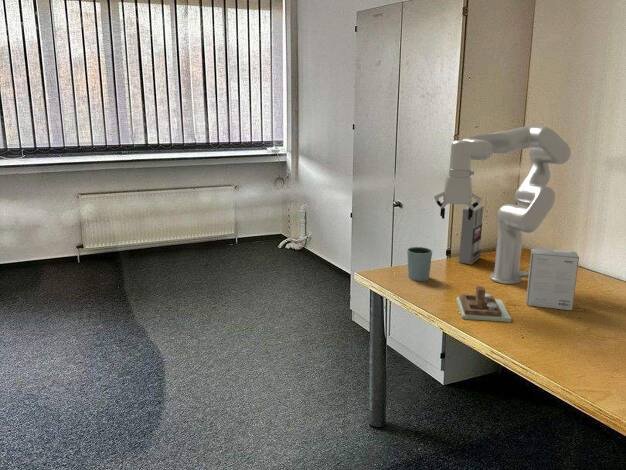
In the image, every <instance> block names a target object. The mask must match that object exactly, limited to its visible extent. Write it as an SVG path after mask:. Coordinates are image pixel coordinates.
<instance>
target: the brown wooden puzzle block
mask: <svg viewBox="0 0 626 470" xmlns="http://www.w3.org/2000/svg"><path fill="white" fill-rule="evenodd" d="M485 294H486V288H485V286H479V285H477V286H476V290H475V294H461V293H460V294H459V295H458V297H459V299H460V302H461V305H462V307H463V310H464V313H465V314H466V315H482V316H497V317H501V314H502V312H501V310H500V308H499V307H498V305H497V307H496V308H494V310H489V307H487V303H495V304H497V303H496V301H495V299H496V298H495V297H494V296H493V295H492V299H490V301H487V300H485ZM474 300H475V301H474ZM472 309H482V310H472Z"/></svg>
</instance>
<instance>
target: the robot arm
mask: <svg viewBox="0 0 626 470" xmlns="http://www.w3.org/2000/svg"><path fill="white" fill-rule="evenodd" d="M524 149H529V151H528V153H529V154H528V155H529V159H530V168H529V171H528V174H527V175H526V176H525V177H524V179H523V180H522V182H521V184H520V185H519V186H518V188H517V189H516V191H515V193H514V201H515V203H517V204H513V203H507V204H503V205H502V206H500V207H499V209H498V211H497V213H496V214H497V215H496V221H497V222H496V223H497V241H496V248H495V249H496V250H495V261H494V269H493V272H492V273H491V274H489V278H490V280H491V281H493V282H496V283H501V284H504V285H507V284H508V285H515V284H520V283H521V282H522V280H523V279H522V278H529V272H527V271H524V270H523V271H521V270H520V264H521V255H522V247H523V246H522V245H523V236H522V233H533V232H535V231H536V230H538V228H539V227H540V226H541V224H542V223H543V221H544V220H545V219H546V217H547V215H548V214H549V212H550V211H551V210H552V208H553V206H554V204H555V201H556V193H555V191H554V189H553V188H551V186H547V185H548V183H549V182H550V179H551V169H550V167H549V164H551V165H552V164H553V165H563V164H565V163H567V162H568V161H569V160H570V158H571V154H572V153H571V152H572V151H571V148H570V146H569V144H568V143H567V142H566V141H565V140H564V138H562V137H561V136H560V135H559V134H558V133H557V132H556V131H555V130H553V129H552V128H550V127H548V126H543V125H525V126H521V127H517V128H513V129H508V130H503V131H497V132H492V133H491V132H490V133H482V134H476V135H473V136H468V137H465V138H463V139H462V140H461V139H459V140H458V139H457V140H456V139H455V140H453V141H452V142H451V146H450V156H449V157H450V159H449V171H448V176H446V177H445V178H446V179H445V184H444V189H443V191H442V192H440V193H438V194H435V195H434V196H433V198H434V200H435V203H436V204H437V206H439V207H440V211H439V212H440V213H439V215H440V217H441V219H442V220H445V214H446V208H445V207H446V206H447V205H464V206H465V205H467V207H468V206H469V209H468V217H467V218H468V220H470V219H471V218H472V214H473V209H474V208H475V207H476V206H478V205H479V204H480V202H481V201H482V198H481V197H480V196H479V195H476V194H475V193H473V182H472V177H471V176H474V175H475V171H474V170H471V167H472V165H471V164H472V160H477V161H486V160H489V158H491V157H492V155H493V154H510V153H514V152H518V151H520V150H521V151H522V150H524ZM442 197H443V198H442ZM440 198H442V199H443V202H441V200H440ZM473 199H475V202H473V203H472V200H473Z"/></svg>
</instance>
